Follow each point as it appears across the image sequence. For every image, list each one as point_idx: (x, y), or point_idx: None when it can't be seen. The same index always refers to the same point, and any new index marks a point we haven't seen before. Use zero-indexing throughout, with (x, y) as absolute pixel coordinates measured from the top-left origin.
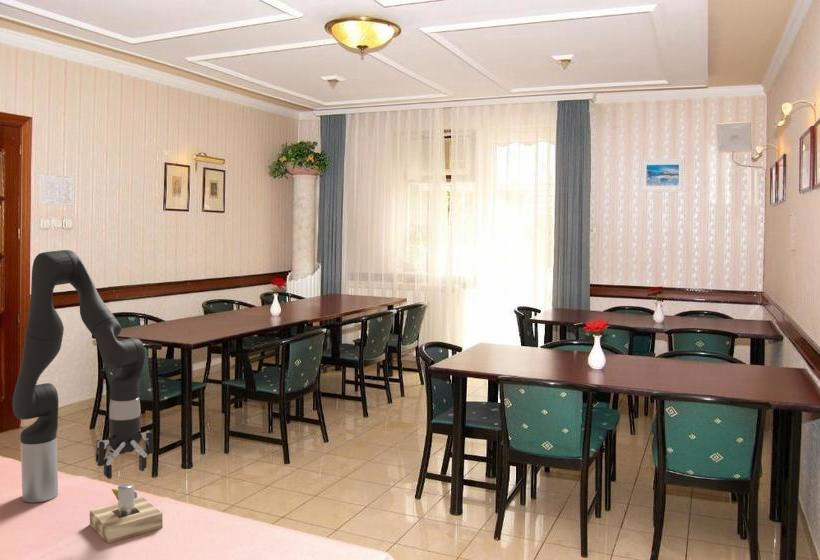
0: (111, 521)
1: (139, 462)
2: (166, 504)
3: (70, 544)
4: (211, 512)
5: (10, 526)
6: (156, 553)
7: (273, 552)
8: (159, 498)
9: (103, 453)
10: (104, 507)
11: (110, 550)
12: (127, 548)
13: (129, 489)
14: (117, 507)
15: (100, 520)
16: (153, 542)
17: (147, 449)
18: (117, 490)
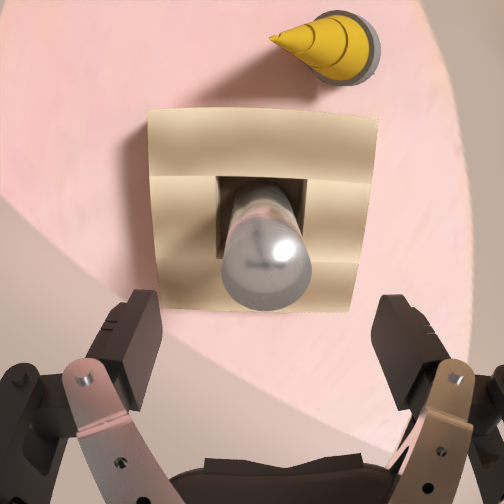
0: (185, 268)
1: (398, 339)
2: (434, 134)
3: (87, 217)
4: (466, 280)
5: (7, 11)
6: (252, 384)
7: (389, 449)
8: (440, 71)
9: (46, 496)
10: (205, 119)
11: (168, 317)
12: (207, 333)
13: (267, 307)
14: (249, 157)
15: (154, 236)
16: (272, 343)
17: (480, 422)
18: (297, 46)
